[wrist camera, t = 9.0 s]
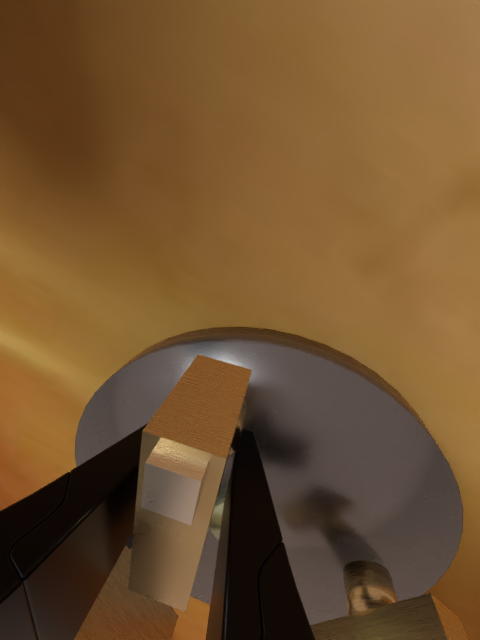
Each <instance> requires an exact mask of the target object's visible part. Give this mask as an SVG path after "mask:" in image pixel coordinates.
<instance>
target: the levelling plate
mask: <svg viewBox="0 0 480 640" xmlns="http://www.w3.org/2000/svg"><path fill="white" fill-rule="evenodd" d="M198 354H199V355H203V356H206V357H209V358H213V359H216V360H220V361H223V362H227V363H230V364H233V365H237V366H240V367H244V368H247V369H250V370H252V372H251V376H250V379H249V383H248V387H247V390H246V394H245V398H244V399H245V401H246V404H247V412H246V416H245V420H244V424H243V428H244V429H247V430H251V431H253V432H254V434H255V437H256V441H257V445H258V448H259V452H260V456H261V460H262V463H263V467H264V471H265V474H266V478H267V482H268V486H269V489H270V493H271V497H272V500H273V504H274V508H275V512H276V515H277V519H278V523H279V526H280V530H281V534H282V538H283V541H282V542H283V543H284V544H285V548H286V552H287V556H288V559H289V563H290V566H291V569H292V573H293V576H294V580H295V583H296V586H297V589H298V592H299V595H300V598H301V601H302V604H303V607H304V609H305V612H306V615H307V618H308V621H309V623H310V625H313V624H317V623H321V622H324V621H328V620H332V619H335V618H339V617H343V616H347V615H348V608H347V601H346V594H345V587H344V579H343V568H344V566H345V565H346V564H348V563H350V562H352V561H357V560H366V561H372V562H375V563H378V564H380V565H382V566H384V567H385V568H386V569H387V570H388V571H389V572H390V574H391V577H392V580H393V584H394V588H395V591H396V595H397V599H398V602H399V601H402V600H406V599H410V598H413V597H417V596H421V595H423V594H424V593H426V592H427V591H428V590H429V589H430V588H431V587H432V586H433V585H435V584H436V583H437V582H438V581H439V579H440V578H441V577H442V576H443V574H444V573H445V572H446V570H447V569H448V568H449V566H450V564H451V562H452V560H453V558H454V556H455V554H456V552H457V550H458V547H459V543H460V538H461V534H462V530H463V507H462V502H461V497H460V492H459V487H458V485H457V482H456V480H455V477H454V475H453V472H452V470H451V468H450V465H449V463H448V462H447V460H446V458H445V457H444V455H443V454H442V452H441V451H440V449H439V447H438V446H437V444H436V443H435V441H434V440H433V438H432V437H431V435H430V433H429V432H428V430H427V429H426V427H425V426H424V424H423V422H422V421H421V419H420V418H419V416H418V415H417V413H416V411H415V410H414V409H413V408H412V407H411V406H410V405H409V403H408V402H407V401H406V400H405V399H404V398H403V397H402V396H401V394H400V393H399V392H398V391H397V390H396V389H394V388H393V387H392V386H391V385H390V384H389V383H387V382H386V381H385V380H384V379H383V378H381V377H380V376H379V375H378V374H377V373H375V372H374V371H372V370H371V369H369V368H367V367H366V366H364V365H363V364H361V363H360V362H358V361H357V360H355V359H354V358H352V357H350V356H348V355H346V354H344V353H341V352H339V351H337V350H335V349H333V348H331V347H329V346H327V345H324V344H321V343H319V342H316V341H313V340H310V339H307V338H304V337H301V336H298V335H293V334H289V333H284V332H279V331H275V330H270V329H260V328H249V327H221V328H209V329H203V330H197V331H191V332H187V333H184V334H181V335H178V336H174V337H171V338H168V339H165V340H163V341H161V342H159V343H157V344H155V345H153V346H151V347H149V348H147V349H146V350H144V351H143V352H141V353H140V354H139V355H137V356H136V357H134V358H133V359H131V360H130V361H129V362H128V363H127V364H125V365H124V366H123V367H122V368H121V369H120V370H118V371H117V372H116V373H115V374H114V375H112V376H111V377H110V378H109V379H108V380H107V381H106V382H105V383H104V384H103V385H102V386H101V387H100V388H99V389H98V390H97V391H96V392H95V394H94V395H93V397H92V398H91V400H90V401H89V403H88V404H87V406H86V407H85V410H84V412H83V414H82V417H81V419H80V421H79V425H78V430H77V434H76V440H75V459H76V467H77V466H79V465H81V464H82V463H84V462H86V461H87V460H89V459H90V458H92V457H94V456H95V455H97V454H98V453H100V452H102V451H103V450H105V449H107V448H108V447H110V446H111V445H113V444H115V443H116V442H118V441H120V440H121V439H123V438H124V437H126V436H128V435H129V434H131V433H133V432H134V431H136V430H137V429H139V428H141V427H142V426H144V425H145V424H147V423H148V422H149V421H150V420H151V418H152V417H153V416H154V414H155V413H156V411H157V410H158V409H159V407H160V406H161V405H162V403H163V402H164V400H165V399H166V398H167V396H168V395H169V394H170V392H171V391H172V389H173V388H174V387H175V385H176V384H177V383H178V381H179V380H180V378H181V377H182V376H183V374H184V373H185V372H186V370H187V369H188V367H189V366H190V365H191V363H192V362H193V361H194V359H195V358H196V356H197V355H198ZM243 428H242V429H243ZM235 452H236V450H235V451H234V452H233V453H232V454H231V455H229V457H228V461H227V464H226V468H225V472H224V475H223V479H222V483H221V486H220V490H219V494H218V497H217V501H216V505H215V508H214V512H213V515H212V519H211V523H210V526H209V530H208V533H207V537H206V540H205V544H204V548H203V551H202V555H201V558H200V562H199V566H198V569H197V573H196V576H195V580H194V583H193V587H192V591H191V594H190V596H192V597H194V598H196V599H198V600H201V601H203V602H205V603H208V604H211V596H212V589H213V581H214V574H215V566H216V559H217V551H218V544H219V536H220V529H221V521H222V514H223V507H224V501H225V496H226V492H227V487H228V483H229V478H230V474H231V469H232V465H233V460H234V456H235ZM132 541H133V533H132V535H131V537H130V539H129V540H128V542H127V544H126V545H127V547H128V548H129V549H131V547H132Z"/></svg>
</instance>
